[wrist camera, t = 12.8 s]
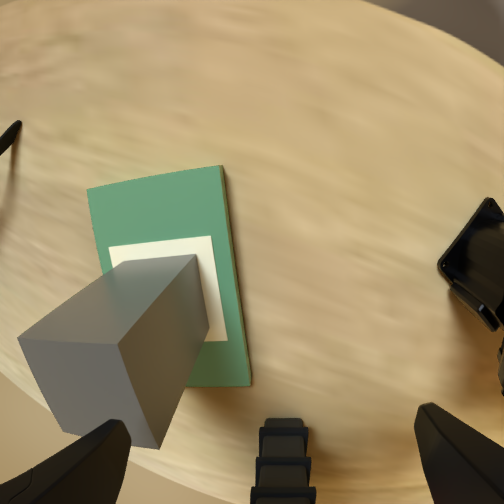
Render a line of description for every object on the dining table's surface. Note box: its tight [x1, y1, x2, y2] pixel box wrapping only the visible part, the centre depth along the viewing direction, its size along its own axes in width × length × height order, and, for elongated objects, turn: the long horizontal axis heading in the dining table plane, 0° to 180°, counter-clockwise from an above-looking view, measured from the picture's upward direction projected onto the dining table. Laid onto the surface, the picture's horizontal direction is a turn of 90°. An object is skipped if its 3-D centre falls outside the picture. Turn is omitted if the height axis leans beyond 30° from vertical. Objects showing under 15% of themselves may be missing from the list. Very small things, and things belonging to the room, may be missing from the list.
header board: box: [87, 165, 251, 387], centre depth 19 cm, size 9×15×5 cm, turn 7°
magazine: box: [250, 418, 316, 504], centre depth 20 cm, size 4×13×15 cm, turn 1°
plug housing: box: [17, 254, 210, 450], centre depth 15 cm, size 5×5×10 cm
